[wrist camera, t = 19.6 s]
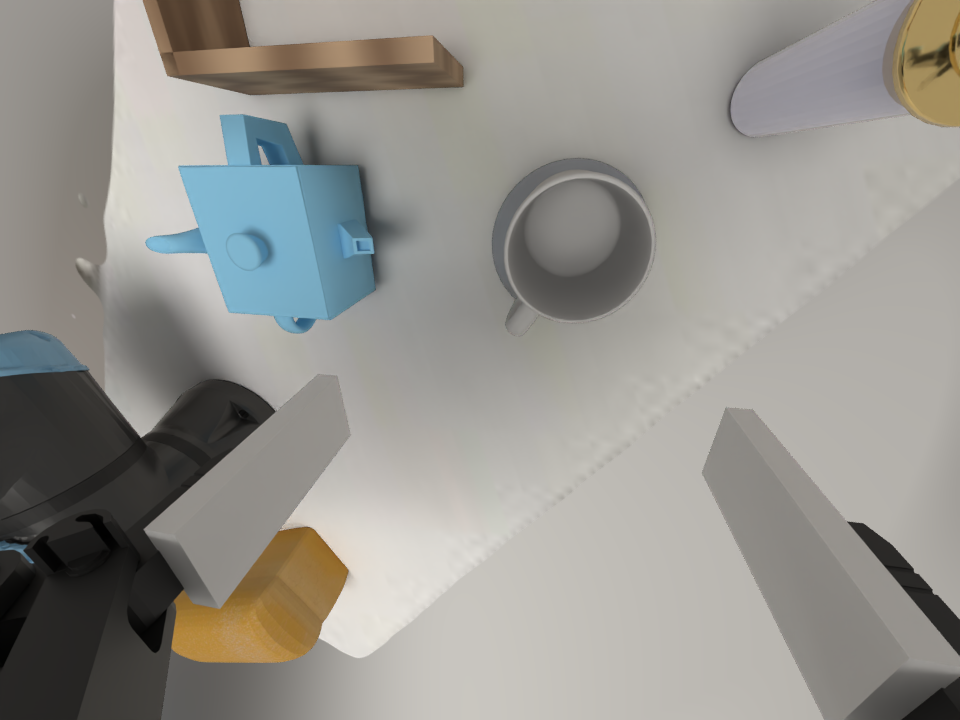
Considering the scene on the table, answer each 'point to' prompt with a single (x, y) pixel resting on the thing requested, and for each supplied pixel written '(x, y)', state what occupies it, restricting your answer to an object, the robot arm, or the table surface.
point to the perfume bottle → (859, 72)
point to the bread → (266, 605)
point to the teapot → (277, 228)
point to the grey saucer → (524, 191)
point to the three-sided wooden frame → (288, 55)
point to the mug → (577, 249)
